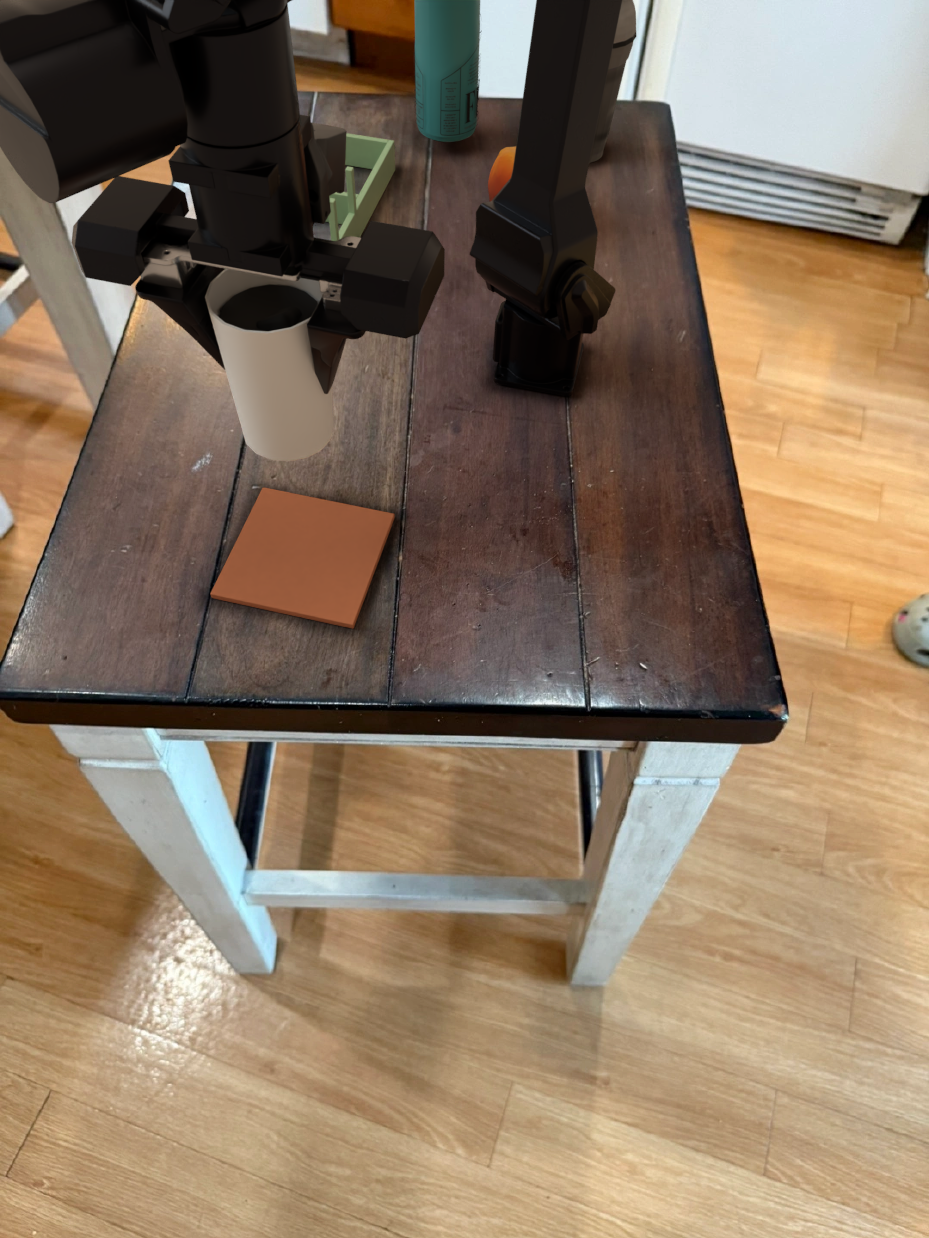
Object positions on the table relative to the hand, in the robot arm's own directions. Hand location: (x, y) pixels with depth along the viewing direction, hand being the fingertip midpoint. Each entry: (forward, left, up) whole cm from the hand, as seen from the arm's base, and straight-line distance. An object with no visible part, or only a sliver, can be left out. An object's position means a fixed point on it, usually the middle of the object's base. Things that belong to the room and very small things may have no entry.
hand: (281, 380), depth 55 cm
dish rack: (+12, -36, -13) cm, 40 cm away
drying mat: (-1, +3, -13) cm, 13 cm away
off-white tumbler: (0, 0, -4) cm, 4 cm away
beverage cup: (-11, -55, -13) cm, 58 cm away
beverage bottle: (+3, -53, -13) cm, 55 cm away
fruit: (-8, -41, -13) cm, 44 cm away
